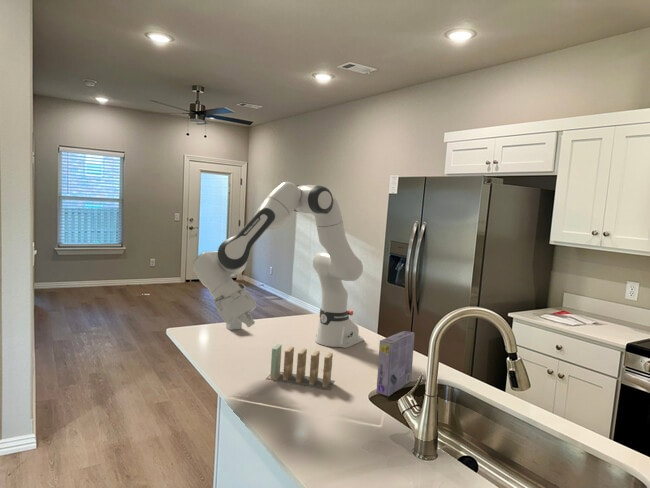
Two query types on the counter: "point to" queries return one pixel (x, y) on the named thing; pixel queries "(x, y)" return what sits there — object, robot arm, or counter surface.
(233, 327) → the skincare box
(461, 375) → the counter surface
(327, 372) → the maple domino
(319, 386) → the charcoal mat
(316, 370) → the maple domino
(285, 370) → the maple domino
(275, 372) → the sage domino
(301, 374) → the maple domino
